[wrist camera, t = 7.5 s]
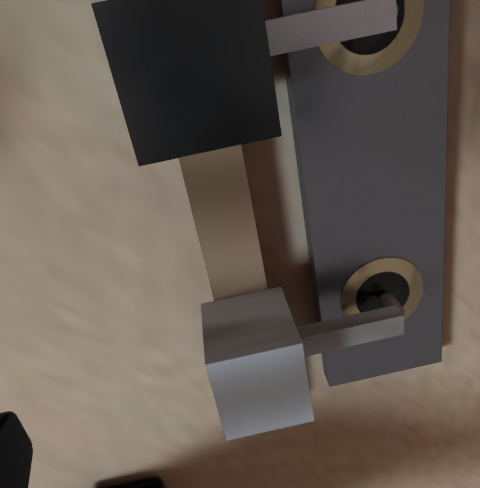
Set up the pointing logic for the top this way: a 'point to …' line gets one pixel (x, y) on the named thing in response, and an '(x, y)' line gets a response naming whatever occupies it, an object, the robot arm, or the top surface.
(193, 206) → the beam
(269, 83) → the sliding leg
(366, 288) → the hole plate
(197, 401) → the top surface
